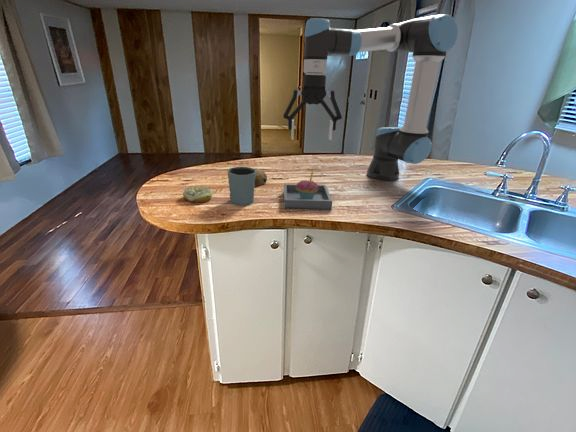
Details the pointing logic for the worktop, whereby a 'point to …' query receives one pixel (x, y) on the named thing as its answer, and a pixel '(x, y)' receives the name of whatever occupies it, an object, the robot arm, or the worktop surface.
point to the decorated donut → (197, 194)
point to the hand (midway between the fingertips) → (311, 139)
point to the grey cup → (241, 185)
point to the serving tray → (318, 203)
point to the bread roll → (260, 177)
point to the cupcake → (307, 188)
